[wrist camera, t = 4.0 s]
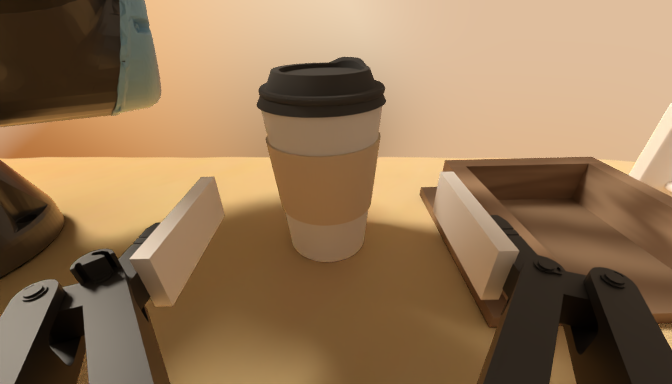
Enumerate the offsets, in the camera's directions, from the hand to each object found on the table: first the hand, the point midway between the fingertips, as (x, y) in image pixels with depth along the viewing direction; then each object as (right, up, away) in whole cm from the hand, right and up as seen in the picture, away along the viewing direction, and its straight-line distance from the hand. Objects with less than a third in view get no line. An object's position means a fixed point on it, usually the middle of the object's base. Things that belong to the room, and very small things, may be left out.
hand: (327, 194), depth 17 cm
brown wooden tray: (+19, -5, +8) cm, 21 cm away
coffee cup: (0, -4, +10) cm, 11 cm away
